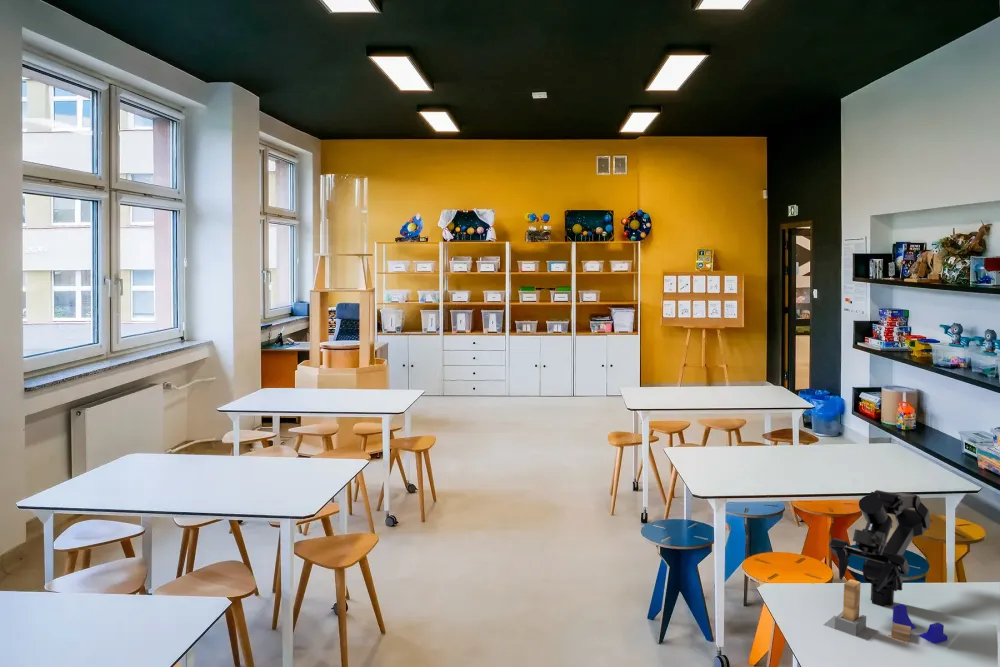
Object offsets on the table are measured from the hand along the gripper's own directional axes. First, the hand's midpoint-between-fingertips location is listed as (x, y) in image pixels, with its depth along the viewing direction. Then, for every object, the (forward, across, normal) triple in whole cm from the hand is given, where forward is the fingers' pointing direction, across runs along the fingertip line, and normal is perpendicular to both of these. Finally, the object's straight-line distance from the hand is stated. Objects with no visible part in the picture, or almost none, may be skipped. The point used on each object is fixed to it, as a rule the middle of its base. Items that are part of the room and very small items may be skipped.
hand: (858, 584), depth 189 cm
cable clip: (+4, +13, +14) cm, 19 cm away
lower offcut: (+8, +10, +9) cm, 16 cm away
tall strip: (+10, 0, +4) cm, 11 cm away
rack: (+11, 0, +5) cm, 12 cm away
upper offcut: (+6, +10, +8) cm, 15 cm away
